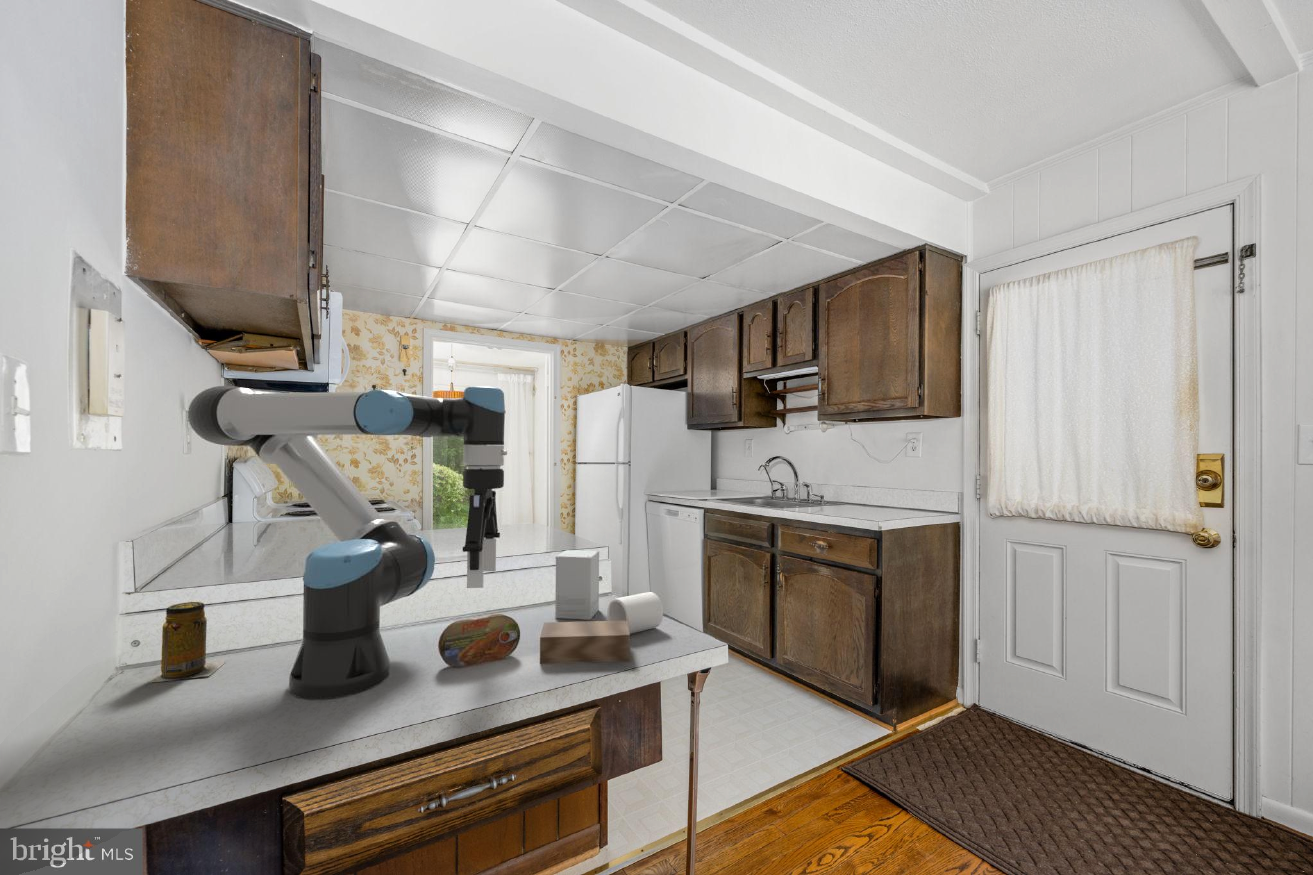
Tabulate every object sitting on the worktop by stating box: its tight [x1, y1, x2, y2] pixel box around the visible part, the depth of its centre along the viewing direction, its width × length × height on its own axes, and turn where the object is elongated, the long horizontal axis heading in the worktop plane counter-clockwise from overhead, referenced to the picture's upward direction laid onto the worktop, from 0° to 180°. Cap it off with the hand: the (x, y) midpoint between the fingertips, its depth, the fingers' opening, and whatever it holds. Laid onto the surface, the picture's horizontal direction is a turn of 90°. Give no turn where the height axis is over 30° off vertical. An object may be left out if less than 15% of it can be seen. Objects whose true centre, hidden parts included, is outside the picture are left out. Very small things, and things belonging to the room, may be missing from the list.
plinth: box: [539, 620, 631, 665], centre depth 111 cm, size 17×9×5 cm, turn 97°
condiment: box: [149, 601, 226, 683], centre depth 99 cm, size 7×8×12 cm
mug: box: [607, 591, 664, 635], centre depth 127 cm, size 12×10×8 cm
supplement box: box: [554, 549, 600, 621], centre depth 138 cm, size 9×9×15 cm
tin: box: [437, 613, 521, 669], centre depth 106 cm, size 15×3×8 cm, turn 123°
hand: (482, 578), depth 107 cm, fingers open, 13 cm apart
